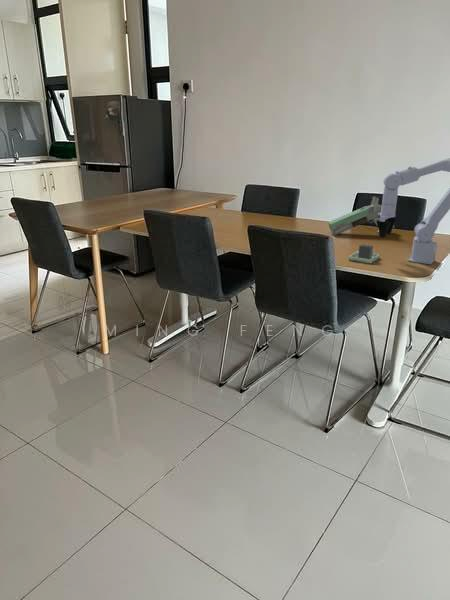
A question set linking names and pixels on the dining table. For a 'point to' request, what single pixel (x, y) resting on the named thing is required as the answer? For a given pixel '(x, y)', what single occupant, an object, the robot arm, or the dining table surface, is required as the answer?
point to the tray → (362, 260)
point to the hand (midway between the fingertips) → (385, 235)
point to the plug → (364, 251)
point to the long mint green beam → (356, 218)
